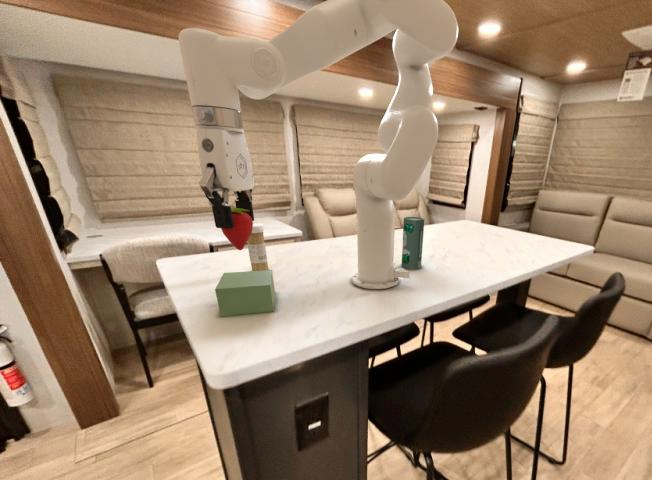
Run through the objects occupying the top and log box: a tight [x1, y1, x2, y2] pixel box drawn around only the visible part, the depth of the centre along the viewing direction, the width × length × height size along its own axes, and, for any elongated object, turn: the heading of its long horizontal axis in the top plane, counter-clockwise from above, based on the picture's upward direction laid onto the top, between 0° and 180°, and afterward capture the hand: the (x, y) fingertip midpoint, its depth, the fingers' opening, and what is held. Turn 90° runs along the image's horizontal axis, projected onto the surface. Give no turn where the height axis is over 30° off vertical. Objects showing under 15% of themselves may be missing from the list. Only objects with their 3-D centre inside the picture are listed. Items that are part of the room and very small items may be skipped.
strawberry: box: [220, 198, 254, 251], centre depth 61 cm, size 6×8×10 cm
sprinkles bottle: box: [246, 222, 270, 271], centre depth 85 cm, size 5×5×14 cm
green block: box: [214, 269, 276, 317], centre depth 67 cm, size 10×10×6 cm
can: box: [401, 216, 425, 271], centre depth 95 cm, size 6×6×15 cm
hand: (236, 223), depth 61 cm, fingers closed on strawberry, 7 cm apart
